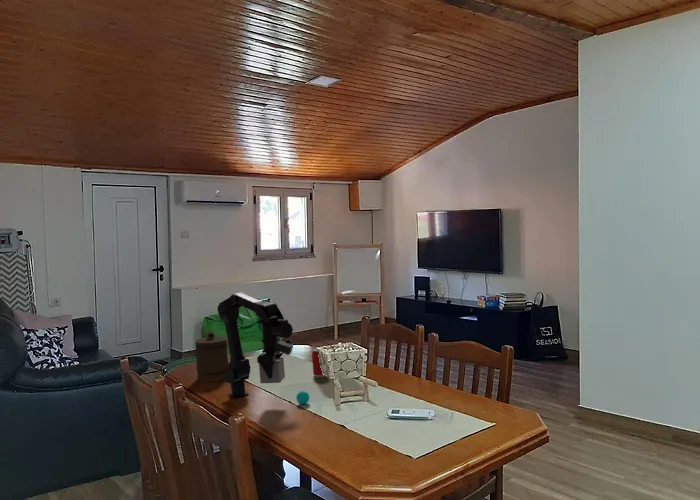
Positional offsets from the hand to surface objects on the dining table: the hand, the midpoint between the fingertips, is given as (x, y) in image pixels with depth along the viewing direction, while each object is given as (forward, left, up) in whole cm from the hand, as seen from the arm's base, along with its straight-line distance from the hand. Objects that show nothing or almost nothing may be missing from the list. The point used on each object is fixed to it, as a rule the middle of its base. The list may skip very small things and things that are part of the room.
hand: (272, 375), depth 229 cm
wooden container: (-58, +1, -12) cm, 59 cm away
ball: (+8, +8, -9) cm, 15 cm away
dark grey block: (0, 0, -2) cm, 2 cm away
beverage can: (-21, +36, -12) cm, 43 cm away
